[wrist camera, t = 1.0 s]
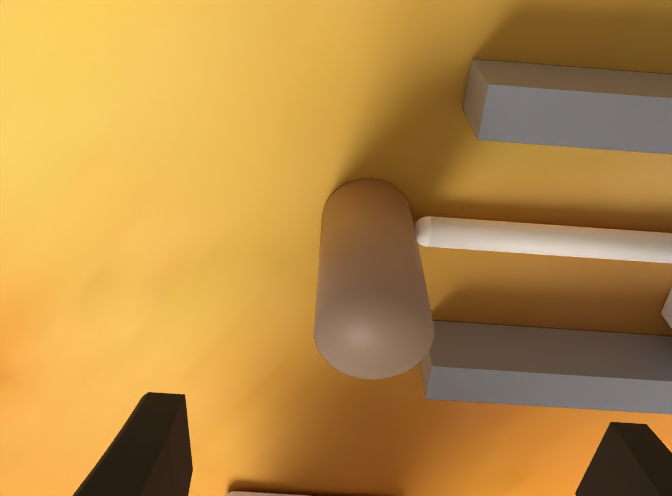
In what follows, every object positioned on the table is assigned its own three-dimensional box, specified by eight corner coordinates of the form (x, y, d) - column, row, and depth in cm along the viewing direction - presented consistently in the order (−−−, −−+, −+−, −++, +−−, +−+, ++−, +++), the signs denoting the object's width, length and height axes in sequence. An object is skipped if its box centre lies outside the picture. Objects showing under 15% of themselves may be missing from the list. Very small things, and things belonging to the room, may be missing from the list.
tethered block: (822, 323, 23) (961, 456, 18) (316, 290, 22) (308, 416, 17) (912, 173, 20) (1113, 281, 14) (327, 131, 19) (321, 226, 14)
